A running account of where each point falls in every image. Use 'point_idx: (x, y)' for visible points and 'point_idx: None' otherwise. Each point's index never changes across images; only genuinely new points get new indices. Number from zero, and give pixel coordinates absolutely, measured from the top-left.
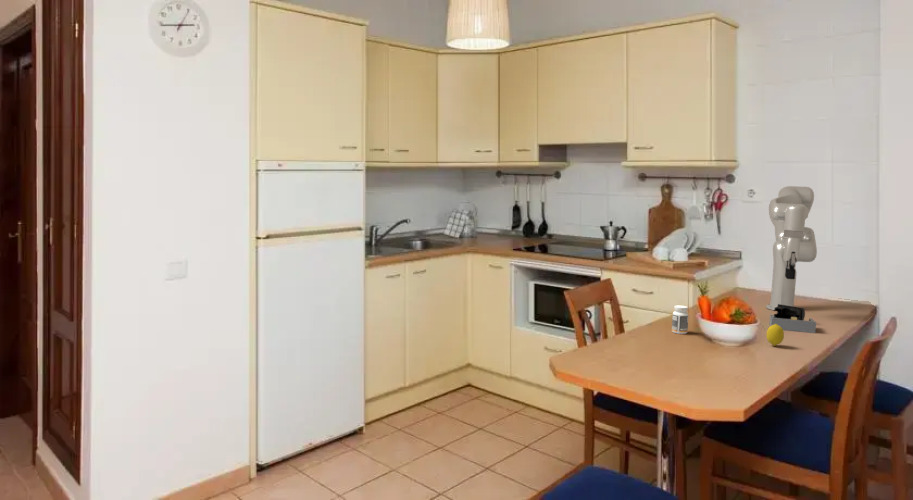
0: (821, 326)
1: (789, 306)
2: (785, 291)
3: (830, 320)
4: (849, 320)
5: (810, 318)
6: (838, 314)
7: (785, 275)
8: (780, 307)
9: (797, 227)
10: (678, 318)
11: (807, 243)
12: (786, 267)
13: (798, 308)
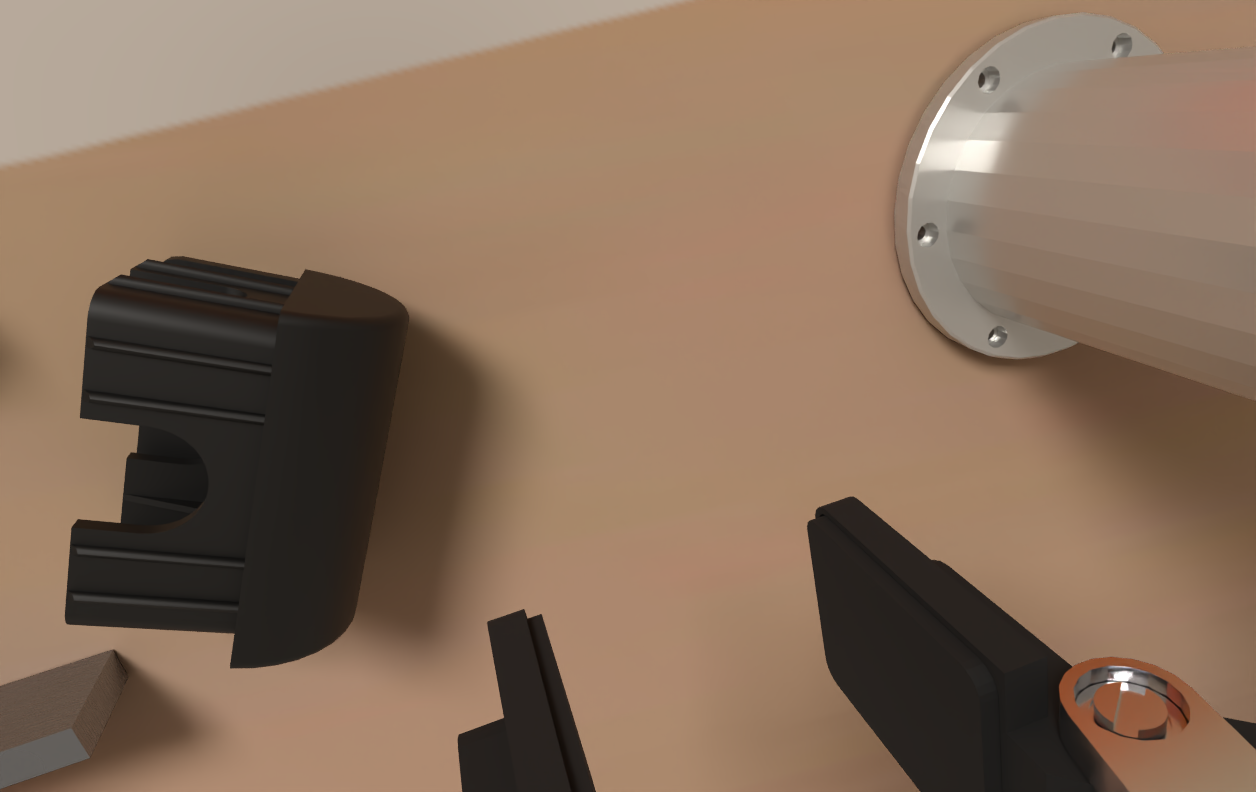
0: (326, 712)
1: (252, 492)
2: (1123, 283)
3: (720, 682)
4: (824, 776)
5: (70, 741)
6: None
7: (834, 529)
8: (128, 380)
9: None
10: None
11: None
12: (1065, 679)
13: (240, 609)
